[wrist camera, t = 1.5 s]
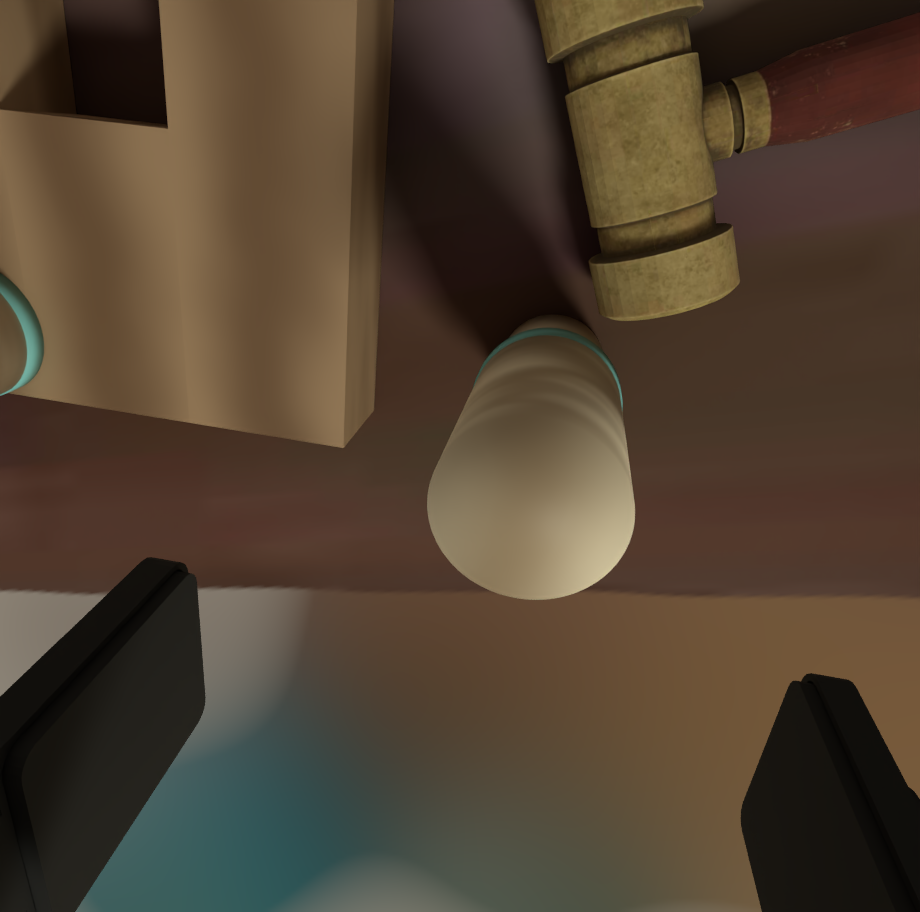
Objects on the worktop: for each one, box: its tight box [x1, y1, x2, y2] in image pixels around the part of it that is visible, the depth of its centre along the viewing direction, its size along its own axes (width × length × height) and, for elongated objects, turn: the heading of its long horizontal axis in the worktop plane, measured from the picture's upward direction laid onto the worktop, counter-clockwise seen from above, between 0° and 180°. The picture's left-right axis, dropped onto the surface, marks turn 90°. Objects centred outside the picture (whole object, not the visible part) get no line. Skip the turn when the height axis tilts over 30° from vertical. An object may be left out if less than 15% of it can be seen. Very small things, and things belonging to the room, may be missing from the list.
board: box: [0, 0, 394, 448], centre depth 20 cm, size 18×22×12 cm
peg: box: [427, 314, 635, 600], centre depth 21 cm, size 5×5×12 cm
